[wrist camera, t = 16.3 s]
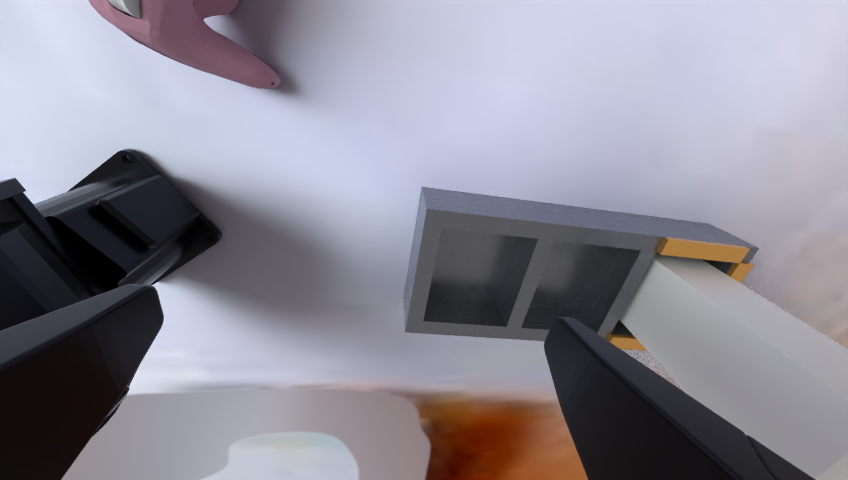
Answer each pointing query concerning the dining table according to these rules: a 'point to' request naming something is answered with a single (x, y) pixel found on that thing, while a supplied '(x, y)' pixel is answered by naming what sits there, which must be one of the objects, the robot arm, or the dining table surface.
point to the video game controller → (188, 36)
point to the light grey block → (746, 361)
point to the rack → (542, 265)
